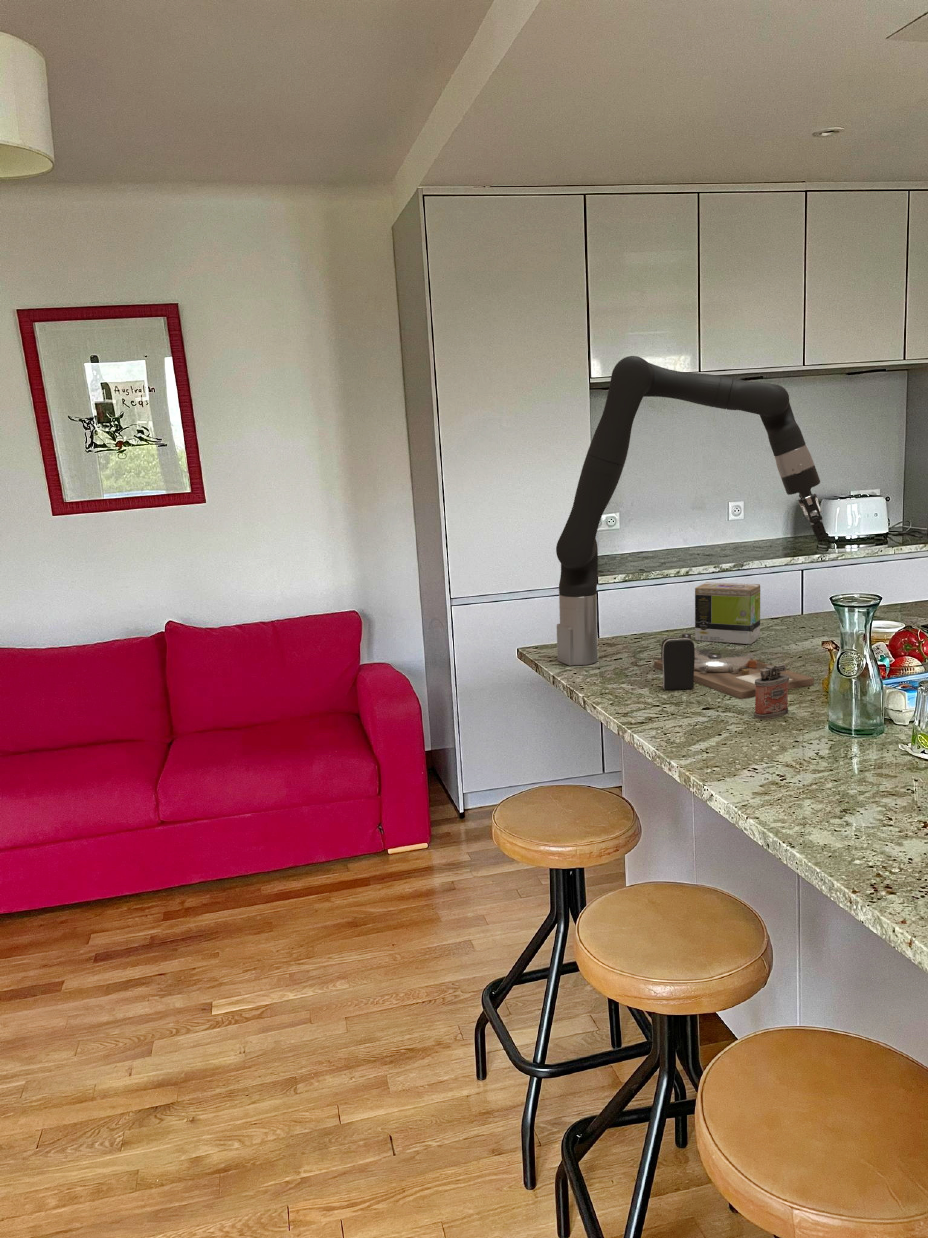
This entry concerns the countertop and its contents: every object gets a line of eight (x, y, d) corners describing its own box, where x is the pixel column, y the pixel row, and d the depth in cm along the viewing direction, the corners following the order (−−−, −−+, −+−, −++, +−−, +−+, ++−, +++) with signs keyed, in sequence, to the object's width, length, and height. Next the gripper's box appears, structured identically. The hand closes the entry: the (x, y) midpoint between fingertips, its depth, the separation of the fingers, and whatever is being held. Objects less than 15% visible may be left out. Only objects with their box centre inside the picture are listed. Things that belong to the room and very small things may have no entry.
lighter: (762, 720, 177) (763, 671, 175) (749, 716, 180) (750, 667, 178) (792, 713, 181) (793, 664, 179) (779, 708, 184) (780, 661, 182)
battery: (690, 684, 203) (690, 635, 201) (695, 689, 199) (695, 639, 197) (659, 686, 203) (659, 636, 201) (663, 691, 199) (663, 640, 197)
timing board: (741, 699, 191) (741, 687, 190) (654, 667, 219) (654, 657, 218) (813, 684, 199) (814, 673, 198) (720, 655, 227) (720, 645, 226)
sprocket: (745, 677, 200) (746, 649, 199) (661, 669, 210) (661, 642, 209) (765, 657, 217) (766, 630, 215) (687, 650, 226) (687, 625, 225)
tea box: (760, 637, 244) (761, 583, 240) (750, 645, 235) (751, 589, 232) (705, 633, 252) (706, 580, 248) (693, 640, 243) (694, 586, 240)
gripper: (779, 474, 212) (802, 538, 213) (781, 478, 198) (806, 546, 200) (811, 461, 209) (835, 527, 211) (816, 464, 196) (841, 534, 197)
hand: (821, 536), depth 205 cm, fingers open, 8 cm apart
